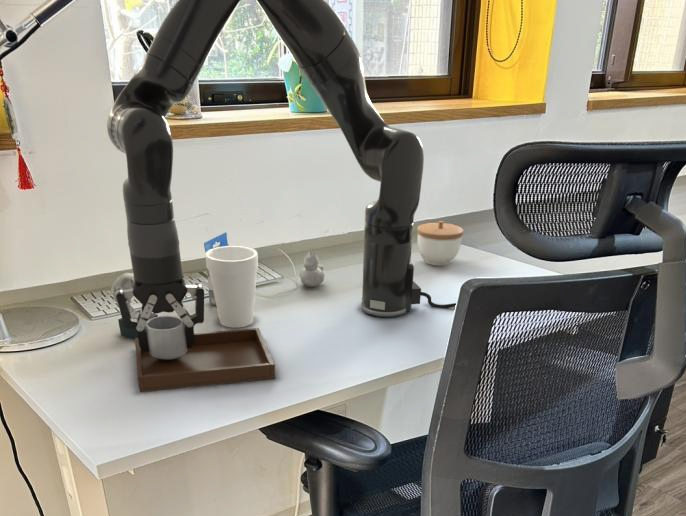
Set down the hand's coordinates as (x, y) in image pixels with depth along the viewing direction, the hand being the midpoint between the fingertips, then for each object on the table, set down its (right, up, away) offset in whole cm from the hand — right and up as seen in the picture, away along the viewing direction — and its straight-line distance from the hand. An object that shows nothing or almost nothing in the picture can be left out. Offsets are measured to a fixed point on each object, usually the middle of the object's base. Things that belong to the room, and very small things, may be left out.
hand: (168, 347), depth 119 cm
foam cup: (+9, +8, +17) cm, 21 cm away
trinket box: (+51, +30, +51) cm, 78 cm away
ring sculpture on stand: (-8, +5, +11) cm, 14 cm away
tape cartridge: (+5, +15, +26) cm, 31 cm away
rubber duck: (+22, +20, +35) cm, 46 cm away
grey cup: (0, -1, +1) cm, 1 cm away
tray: (+6, -3, +1) cm, 7 cm away
